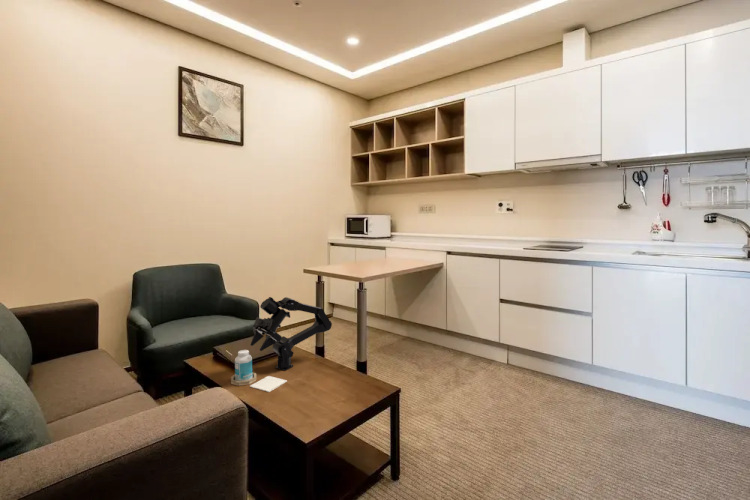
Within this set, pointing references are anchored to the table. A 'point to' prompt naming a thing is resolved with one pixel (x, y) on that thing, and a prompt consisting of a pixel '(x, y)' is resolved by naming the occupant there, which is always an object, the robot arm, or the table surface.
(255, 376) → the ring holder
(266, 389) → the white square cloth
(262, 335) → the robot arm
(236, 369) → the pill bottle
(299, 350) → the table surface
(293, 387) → the table surface
